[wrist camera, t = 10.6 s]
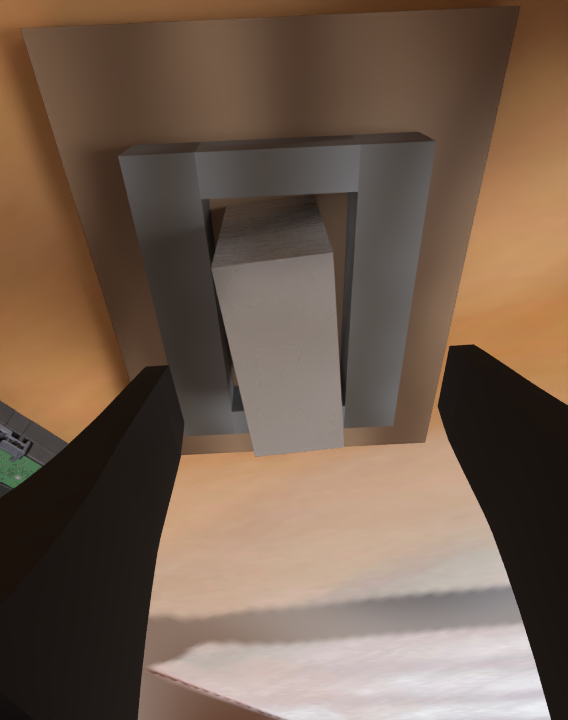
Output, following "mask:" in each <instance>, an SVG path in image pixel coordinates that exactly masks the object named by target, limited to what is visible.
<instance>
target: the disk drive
mask: <svg viewBox="0 0 568 720" xmlns="http://www.w3.org/2000/svg"><path fill="white" fill-rule="evenodd" d="M67 445H68V443H67V442H65V441H63V440H62V439H60V438H59V437H57V436H55V435H54V434H52V433H51V432H49V431H48V430H46V429H44V428H43V427H41V426H40V425H38V424H36V423H35V422H33V421H31V420H29V419H28V418H26V417H25V416H23V415H21V414H20V413H18V412H17V411H15V410H14V409H13V408H11V407H9V406H8V405H6V404H5V403H3V402H1V401H0V498H1V497H2V496H3V495H5V494H6V493H8V492H9V491H11V490H12V489H13V488H15V487H16V486H18V485H19V484H20V483H22V482H23V481H24V480H26V479H27V478H28V477H30V476H31V475H32V474H33V473H35V472H36V471H37V470H38V469H40V468H41V467H42V466H44V465H45V464H46V463H47V462H49V461H50V460H51V459H52V458H53V457H54V456H56V455H57V454H58V453H59V452H60V451H61V450H63V449H64V448H65V447H66V446H67Z"/></svg>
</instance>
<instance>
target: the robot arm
mask: <svg viewBox="0 0 568 720" xmlns="http://www.w3.org/2000/svg"><path fill="white" fill-rule="evenodd" d="M438 409H439V412H440V415H441V419H442V422H443V425H444V428H445V431H446V434H447V437H448V440H449V442H450V444H451V446H452V449H453V451H454V453H455V455H456V457H457V459H458V461H459V463H460V465H461V468H462V470H463V472H464V474H465V476H466V478H467V480H468V482H469V484H470V486H471V488H472V490H473V492H474V494H475V496H476V498H477V500H478V502H479V504H480V506H481V509H482V511H483V513H484V515H485V517H486V519H487V522H488V524H489V526H490V528H491V531H492V533H493V536H494V539H495V541H496V544H497V547H498V550H499V552H500V555H501V558H502V561H503V563H504V566H505V569H506V572H507V575H508V578H509V581H510V584H511V587H512V590H513V593H514V595H515V599H516V601H517V605H518V608H519V610H520V614H521V617H522V620H523V624H524V627H525V630H526V633H527V637H528V640H529V643H530V646H531V650H532V653H533V656H534V659H535V663H536V666H537V670H538V674H539V677H540V681H541V684H542V688H543V692H544V695H545V699H546V702H547V706H548V710H549V713H550V717H551V720H568V405H566V404H565V403H563V402H561V401H560V400H558V399H557V398H555V397H553V396H552V395H550V394H548V393H547V392H545V391H544V390H542V389H541V388H539V387H538V386H536V385H534V384H533V383H531V382H530V381H528V380H527V379H525V378H524V377H522V376H521V375H519V374H518V373H516V372H515V371H513V370H512V369H510V368H509V367H508V366H506V365H505V364H503V363H502V362H500V361H499V360H497V359H496V358H494V357H493V356H491V355H490V354H488V353H487V352H485V351H484V350H482V349H480V348H479V347H477V346H475V345H474V344H473V345H458V346H449V351H448V356H447V361H446V367H445V372H444V377H443V382H442V387H441V392H440V397H439V402H438ZM183 433H184V419H183V415H182V412H181V408H180V404H179V400H178V397H177V393H176V389H175V385H174V382H173V378H172V374H171V371H170V367H169V365H161V366H146V367H145V368H144V369H143V370H142V371H141V372H140V373H139V374H138V375H137V376H136V377H135V378H134V379H133V380H132V381H131V382H130V383H129V384H128V385H127V386H126V388H125V389H124V390H123V391H122V392H121V393H120V394H119V395H118V396H117V397H116V398H115V399H114V400H113V401H112V402H111V403H110V404H109V405H108V406H107V407H106V409H105V410H104V411H103V412H102V413H101V414H100V415H99V416H98V417H97V418H96V419H95V420H94V421H93V422H92V423H91V424H89V425H88V426H87V427H86V428H85V429H84V430H83V431H82V432H81V433H80V434H79V435H78V436H77V437H76V438H75V439H73V440H72V441H71V442H70V443H69V444H68V445H67V446H66V447H65V448H64V449H63V450H61V451H60V452H59V453H58V454H57V455H56V456H54V457H53V458H52V459H51V460H50V461H49V462H47V463H46V464H45V465H44V466H42V467H41V468H40V469H38V470H37V471H36V472H35V473H33V474H32V475H31V476H30V477H28V478H27V479H26V480H24V481H23V482H22V483H20V484H19V485H18V486H16V487H15V488H13V489H12V490H11V491H9V492H8V493H6V494H5V495H3V496H2V497H1V498H0V720H138V709H139V697H140V686H141V676H142V667H143V658H144V649H145V639H146V631H147V623H148V615H149V608H150V600H151V592H152V585H153V579H154V572H155V565H156V558H157V552H158V547H159V543H160V538H161V533H162V529H163V526H164V522H165V518H166V514H167V510H168V506H169V502H170V498H171V494H172V490H173V486H174V482H175V478H176V474H177V470H178V466H179V462H180V458H181V450H182V443H183Z"/></svg>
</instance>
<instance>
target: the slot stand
mask: <svg viewBox="0 0 568 720" xmlns="http://www.w3.org/2000/svg"><path fill="white" fill-rule="evenodd" d="M519 9H520V6H506V7H483V8H461V9H439V10H417V11H394V12H372V13H350V14H328V15H305V16H283V17H261V18H239V19H217V20H194V21H172V22H150V23H128V24H105V25H83V26H61V27H39V28H20V29H21V32H22V35H23V38H24V41H25V45H26V48H27V51H28V54H29V57H30V61H31V64H32V67H33V70H34V74H35V77H36V80H37V83H38V86H39V90H40V93H41V96H42V99H43V103H44V106H45V109H46V112H47V115H48V119H49V122H50V125H51V128H52V131H53V135H54V138H55V141H56V144H57V148H58V151H59V154H60V157H61V160H62V164H63V167H64V170H65V173H66V177H67V180H68V183H69V186H70V189H71V193H72V196H73V199H74V202H75V205H76V209H77V212H78V215H79V218H80V222H81V225H82V228H83V231H84V234H85V238H86V241H87V244H88V247H89V250H90V254H91V257H92V260H93V263H94V267H95V270H96V273H97V276H98V279H99V283H100V286H101V289H102V292H103V296H104V299H105V302H106V305H107V308H108V312H109V315H110V318H111V321H112V324H113V328H114V331H115V334H116V337H117V341H118V344H119V347H120V350H121V353H122V357H123V360H124V363H125V366H126V370H127V373H128V376H129V379H130V382H131V381H132V380H133V379H134V378H135V377H136V376H137V375H138V374H139V373H140V372H141V371H142V370H143V369H144V368H145V367H146V366H161V365H169V367H170V371H171V374H172V378H173V382H174V385H175V389H176V393H177V397H178V400H179V404H180V408H181V412H182V415H183V419H184V433H183V443H182V450H181V455H191V454H211V453H230V452H250V451H254V449H253V445H252V441H251V437H250V432H249V428H248V424H247V419H246V415H245V411H244V407H243V402H242V398H241V394H240V390H239V385H238V381H237V377H236V372H235V368H234V364H233V360H232V355H231V351H230V347H229V343H228V338H227V334H226V330H225V325H224V321H223V317H222V313H221V308H220V304H219V300H218V296H217V291H216V287H215V283H214V279H213V274H212V270H211V266H212V262H213V258H214V254H215V250H216V246H217V242H218V238H219V234H220V230H221V226H222V222H223V218H224V214H225V210H226V206H232V205H239V204H247V203H254V202H262V201H269V200H277V199H284V198H292V197H299V196H307V195H314V196H315V199H316V202H317V205H318V208H319V211H320V214H321V217H322V220H323V223H324V226H325V229H326V232H327V235H328V238H329V241H330V244H331V247H332V250H333V259H334V276H335V294H336V312H337V329H338V347H339V365H340V382H341V400H342V417H343V435H344V447H347V446H367V445H386V444H406V443H425V441H426V436H427V431H428V427H429V422H430V418H431V413H432V408H433V404H434V399H435V395H436V390H437V385H438V381H439V376H440V372H441V367H442V362H443V358H444V353H445V349H446V344H447V339H448V335H449V330H450V326H451V321H452V316H453V312H454V307H455V303H456V298H457V293H458V289H459V284H460V280H461V275H462V271H463V266H464V261H465V257H466V252H467V248H468V243H469V238H470V234H471V229H472V225H473V220H474V215H475V211H476V206H477V202H478V197H479V192H480V188H481V183H482V179H483V174H484V169H485V165H486V160H487V156H488V151H489V146H490V142H491V137H492V133H493V128H494V123H495V119H496V114H497V110H498V105H499V100H500V96H501V91H502V87H503V82H504V78H505V73H506V68H507V64H508V59H509V55H510V50H511V45H512V41H513V36H514V32H515V27H516V22H517V18H518V13H519Z"/></svg>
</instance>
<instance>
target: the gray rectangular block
mask: <svg viewBox="0 0 568 720" xmlns="http://www.w3.org/2000/svg"><path fill="white" fill-rule="evenodd" d="M211 270H212V274H213V279H214V283H215V287H216V291H217V296H218V300H219V304H220V308H221V313H222V317H223V321H224V325H225V330H226V334H227V338H228V343H229V347H230V351H231V355H232V360H233V364H234V368H235V372H236V377H237V381H238V385H239V390H240V394H241V398H242V402H243V407H244V411H245V415H246V419H247V424H248V428H249V432H250V437H251V441H252V445H253V449H254V454H255V457H259V456H268V455H278V454H287V453H296V452H305V451H314V450H324V449H333V448H342V447H344V435H343V417H342V400H341V382H340V365H339V347H338V329H337V312H336V294H335V276H334V259H333V250H332V247H331V244H330V241H329V238H328V235H327V232H326V229H325V226H324V223H323V220H322V217H321V214H320V211H319V208H318V205H317V202H316V199H315V196H314V195H307V196H299V197H292V198H284V199H277V200H269V201H262V202H254V203H247V204H239V205H232V206H226V210H225V214H224V218H223V222H222V226H221V230H220V234H219V238H218V242H217V246H216V250H215V254H214V258H213V262H212V266H211Z"/></svg>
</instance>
